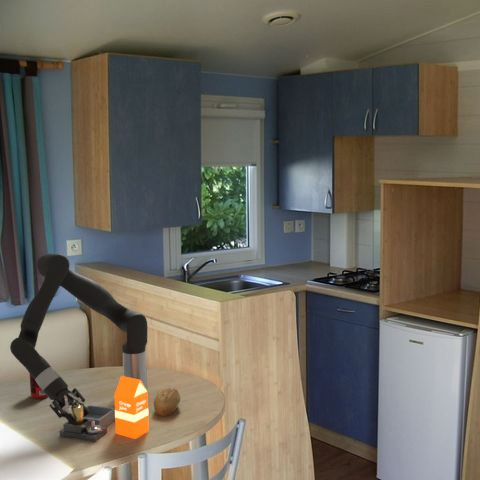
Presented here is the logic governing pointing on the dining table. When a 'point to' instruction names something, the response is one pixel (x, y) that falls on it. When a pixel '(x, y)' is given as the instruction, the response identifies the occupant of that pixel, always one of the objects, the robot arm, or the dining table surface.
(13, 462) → the dining table surface
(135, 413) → the orange juice
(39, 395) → the canned food
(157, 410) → the bread roll
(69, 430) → the crank housing
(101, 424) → the tray
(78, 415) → the cylinder
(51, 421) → the dining table surface
